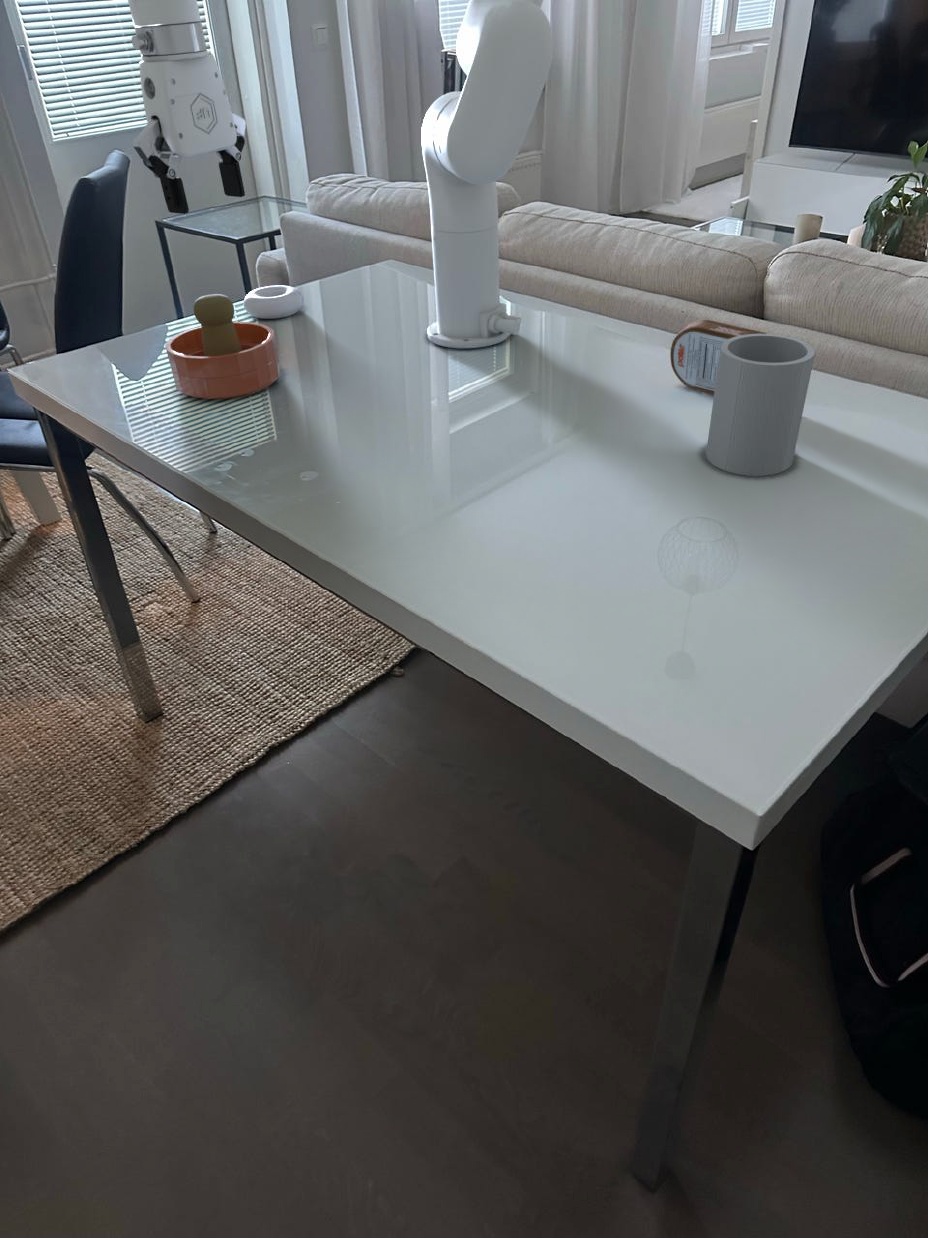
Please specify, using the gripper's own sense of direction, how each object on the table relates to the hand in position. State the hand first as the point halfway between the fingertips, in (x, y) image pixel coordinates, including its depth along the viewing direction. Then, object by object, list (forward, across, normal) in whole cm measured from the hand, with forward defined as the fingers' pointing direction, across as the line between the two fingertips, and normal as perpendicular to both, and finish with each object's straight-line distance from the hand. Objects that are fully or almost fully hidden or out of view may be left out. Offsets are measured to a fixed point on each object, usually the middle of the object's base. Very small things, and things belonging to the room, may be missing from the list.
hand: (207, 203), depth 109 cm
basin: (+22, -4, -2) cm, 22 cm away
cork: (+21, -4, -2) cm, 22 cm away
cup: (+23, +6, -71) cm, 75 cm away
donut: (+22, +22, +15) cm, 34 cm away
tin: (+23, +22, -63) cm, 70 cm away
